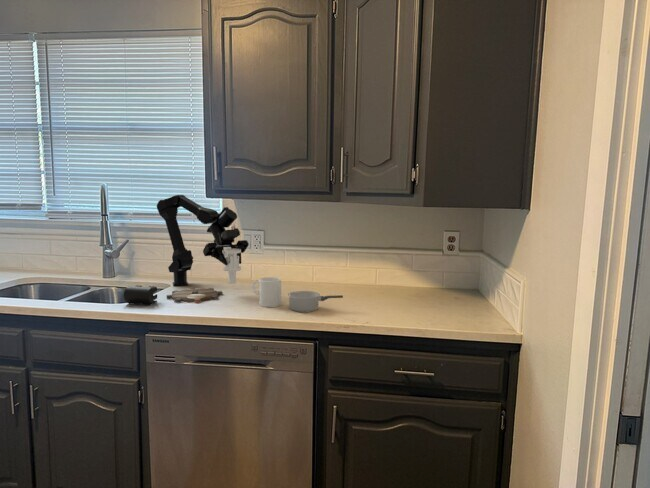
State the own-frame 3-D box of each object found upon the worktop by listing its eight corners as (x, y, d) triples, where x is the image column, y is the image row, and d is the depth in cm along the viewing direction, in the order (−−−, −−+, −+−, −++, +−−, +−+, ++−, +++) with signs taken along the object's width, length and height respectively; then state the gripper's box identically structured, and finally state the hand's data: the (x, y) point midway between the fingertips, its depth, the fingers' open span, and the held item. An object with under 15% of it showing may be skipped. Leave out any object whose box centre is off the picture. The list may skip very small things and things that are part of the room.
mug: (256, 300, 173) (255, 275, 172) (284, 303, 169) (284, 277, 168) (246, 305, 165) (246, 279, 164) (275, 308, 162) (275, 282, 160)
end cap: (123, 305, 163) (122, 287, 162) (134, 301, 170) (133, 283, 169) (148, 307, 162) (148, 289, 161) (158, 302, 168) (158, 285, 168)
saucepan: (341, 315, 154) (342, 299, 154) (285, 313, 156) (285, 297, 155) (343, 306, 166) (343, 292, 165) (291, 304, 167) (291, 290, 167)
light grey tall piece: (221, 282, 181) (220, 246, 179) (237, 280, 185) (237, 245, 183) (227, 285, 175) (226, 248, 173) (243, 283, 179) (243, 247, 177)
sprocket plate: (165, 292, 184) (165, 287, 183) (218, 288, 192) (218, 284, 191) (167, 305, 164) (167, 300, 163) (226, 300, 172) (226, 295, 172)
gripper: (205, 222, 173) (219, 254, 167) (246, 221, 186) (261, 250, 179) (197, 240, 180) (210, 271, 173) (236, 237, 193) (250, 266, 186)
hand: (233, 264), depth 178 cm, fingers closed on light grey tall piece, 6 cm apart
